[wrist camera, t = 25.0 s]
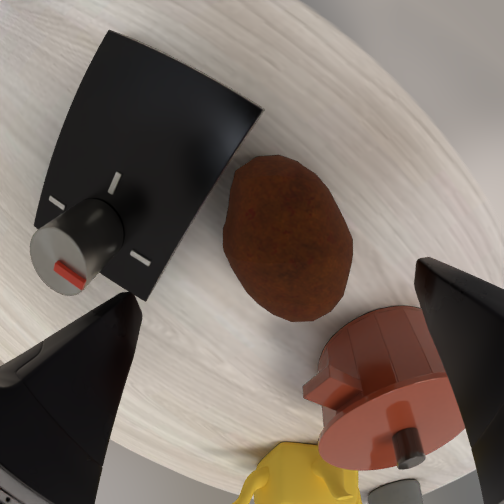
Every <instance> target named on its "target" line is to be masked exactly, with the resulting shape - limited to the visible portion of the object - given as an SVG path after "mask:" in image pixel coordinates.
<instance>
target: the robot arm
mask: <svg viewBox="0 0 504 504" xmlns="http://www.w3.org/2000/svg"><path fill="white" fill-rule="evenodd" d="M414 286H415V291H416V294H417V297H418V300H419V302H420V306H421V309H422V312H423V315H424V318H425V321H426V324H427V327H428V330H429V332H430V335H431V337H432V339H433V342H434V344H435V346H436V349H437V351H438V354H439V356H440V359H441V361H442V364H443V366H444V369H445V371H446V374H447V376H448V379H449V382H450V384H451V387H452V390H453V393H454V395H455V398H456V401H457V404H458V407H459V410H460V413H461V416H462V419H463V422H464V425H465V429H466V432H467V435H468V439H469V442H470V446H471V448H472V449H471V450H472V454H473V457H474V461H475V465H476V469H477V473H478V477H479V481H480V486H481V491H482V495H483V501H484V504H504V289H502V288H500V287H497V286H495V285H493V284H491V283H489V282H486V281H484V280H482V279H480V278H477V277H475V276H473V275H471V274H468V273H466V272H464V271H461V270H459V269H457V268H455V267H452V266H450V265H447V264H445V263H443V262H440V261H438V260H436V259H433V258H431V257H425V258H420V259H418V260H417V262H416V270H415V280H414ZM141 322H142V312H141V309H140V307H139V305H138V302H137V300H136V298H135V295H134V294H133V293H132V292H122V293H119V294H118V295H116V296H114V297H113V298H111V299H110V300H108V301H106V302H105V303H103V304H101V305H100V306H98V307H96V308H95V309H93V310H91V311H90V312H88V313H87V314H85V315H83V316H82V317H80V318H78V319H77V320H75V321H74V322H72V323H70V324H69V325H67V326H66V327H64V328H62V329H61V330H59V331H58V332H56V333H54V334H53V335H51V336H50V337H48V338H46V339H45V340H44V341H42V342H40V343H39V344H37V345H35V346H34V347H32V348H31V349H29V350H27V351H26V352H24V353H22V354H21V355H19V356H17V357H16V358H14V359H12V360H11V361H9V362H7V363H5V364H4V365H2V366H0V504H95V499H96V494H97V490H98V485H99V481H100V476H101V472H102V466H103V463H104V458H105V455H106V451H107V447H108V443H109V439H110V435H111V432H112V428H113V424H114V421H115V417H116V414H117V410H118V407H119V403H120V400H121V396H122V393H123V390H124V386H125V383H126V380H127V377H128V373H129V370H130V367H131V364H132V361H133V357H134V353H135V349H136V344H137V340H138V335H139V331H140V326H141Z"/></svg>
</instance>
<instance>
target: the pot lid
mask: <svg viewBox="0 0 504 504" xmlns="http://www.w3.org/2000/svg"><path fill="white" fill-rule="evenodd" d="M464 429H465V425H464V422H463V419H462V416H461V413H460V410H459V407H458V404H457V401H456V398H455V395H454V393H453V390H452V387H451V384H450V382H449V379H448V376H447V374H446V372H436V373H429V374H425V375H420V376H416V377H413V378H409V379H406V380H403V381H400V382H397V383H394V384H391V385H389V386H387V387H384V388H382V389H379V390H377V391H375V392H373V393H371V394H369V395H367V396H365V397H363V398H361V399H359V400H358V401H356V402H354V403H353V404H351V405H349V406H348V407H346V408H345V409H343V410H342V411H341V412H340V413H338V414H337V415H336V416H335V417H333V418H332V419H331V420H330V421H329V422H328V423H327V425H326V426H325V427H324V428H323V430H322V432H321V433H320V436H319V439H318V451H319V454H320V456H321V457H322V459H323V460H324V461H326V462H327V463H329V464H330V465H333V466H335V467H338V468H342V469H347V470H358V471H363V470H377V469H384V468H389V467H394V466H397V468H398V469H409V468H412V467H415V466H417V465H419V464H420V463H422V462H423V461H424V460H425V458H426V457H425V455H427V454H429V453H431V452H433V451H435V450H437V449H438V448H440V447H442V446H443V445H445V444H446V443H448V442H449V441H451V440H452V439H453V438H454V437H456V436H457V435H458V434H459V433H460V432H462V431H463V430H464Z"/></svg>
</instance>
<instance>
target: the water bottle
mask: <svg viewBox="0 0 504 504" xmlns="http://www.w3.org/2000/svg"><path fill="white" fill-rule="evenodd" d="M368 503H369V504H423V499H422V494H421V489H420V484H419V482H418V481H417V480H402V481H397V482H393V483H390V484H387V485H384V486H382V487H380V488H378V489H376V490H374V491H373V492H372V493H370V495H369V497H368Z"/></svg>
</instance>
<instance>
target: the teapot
mask: <svg viewBox="0 0 504 504" xmlns="http://www.w3.org/2000/svg"><path fill="white" fill-rule="evenodd" d="M253 494H254V502H255V504H362V501H361V496H360V491H359V488H358V470H347V469H342V468H338V467H335V466H333V465H330V464H329V463H327V462H326V461H324V460H323V459H322V457H321V456H320V454H319V451H318V445H312V444H302V443H293V442H282V443H280V444H279V445H277V446H276V447H275V448H274V449H273V450H272V451H271V452H270V453H268V454H267V455H266V456H265V457H264V458H263V459H262V461H261V462H260V463H259V464H258V466H257V468H256V470H255V471H253V472H252V473H251V474H250V475H249V476H248V477H247V479H246V480H245V482H244V485H243V487H242V490H241V493H240V495H239V497H238V499H237V500H236V501H235V502H234V503H232V504H249V502H250V500H251V498H252V496H253Z"/></svg>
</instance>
